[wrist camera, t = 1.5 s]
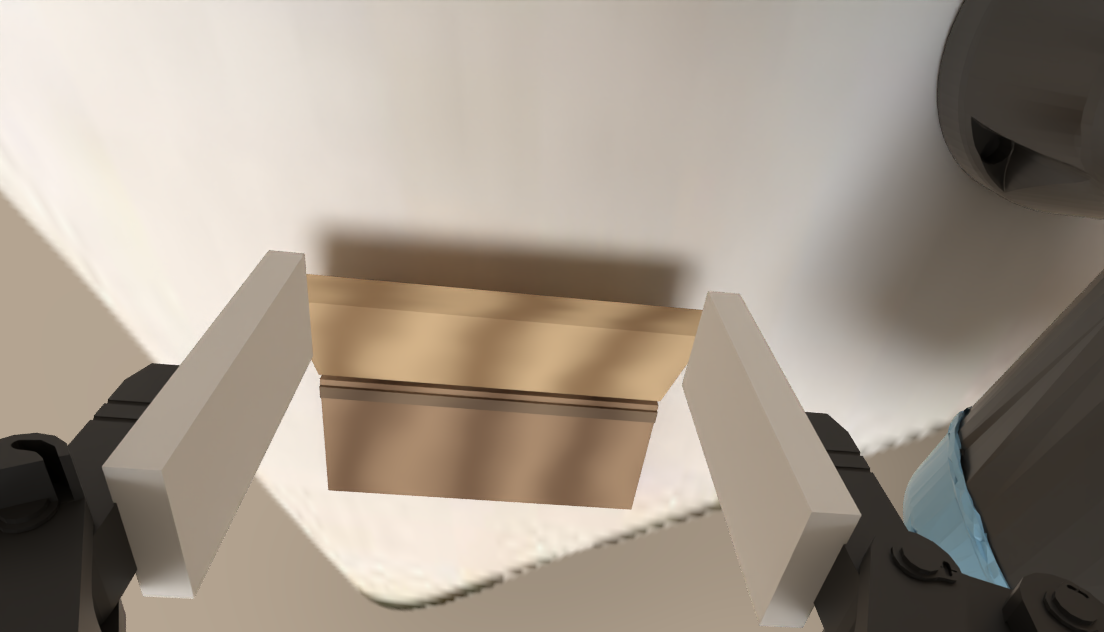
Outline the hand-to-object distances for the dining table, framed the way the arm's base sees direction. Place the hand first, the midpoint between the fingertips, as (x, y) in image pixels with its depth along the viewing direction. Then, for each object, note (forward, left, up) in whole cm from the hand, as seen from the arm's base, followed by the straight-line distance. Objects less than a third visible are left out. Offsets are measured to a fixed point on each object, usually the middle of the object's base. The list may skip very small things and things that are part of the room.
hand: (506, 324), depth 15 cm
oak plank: (0, +11, -17) cm, 20 cm away
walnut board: (0, +21, -19) cm, 28 cm away
